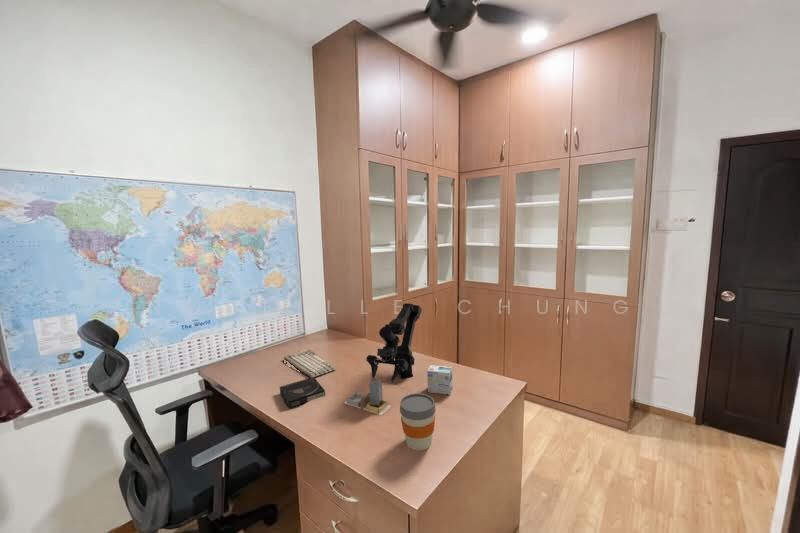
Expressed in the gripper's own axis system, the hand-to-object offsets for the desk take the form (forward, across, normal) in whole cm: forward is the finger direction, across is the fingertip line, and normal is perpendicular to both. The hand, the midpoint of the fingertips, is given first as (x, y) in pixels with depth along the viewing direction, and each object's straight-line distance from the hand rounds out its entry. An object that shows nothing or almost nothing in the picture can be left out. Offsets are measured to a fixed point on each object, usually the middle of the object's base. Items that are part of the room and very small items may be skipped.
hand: (382, 380), depth 140 cm
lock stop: (+11, 0, +2) cm, 11 cm away
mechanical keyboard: (-9, -58, +25) cm, 64 cm away
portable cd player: (+12, -39, +3) cm, 41 cm away
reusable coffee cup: (+21, +23, -7) cm, 32 cm away
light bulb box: (-5, +21, +20) cm, 29 cm away
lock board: (+11, -5, +3) cm, 13 cm away
